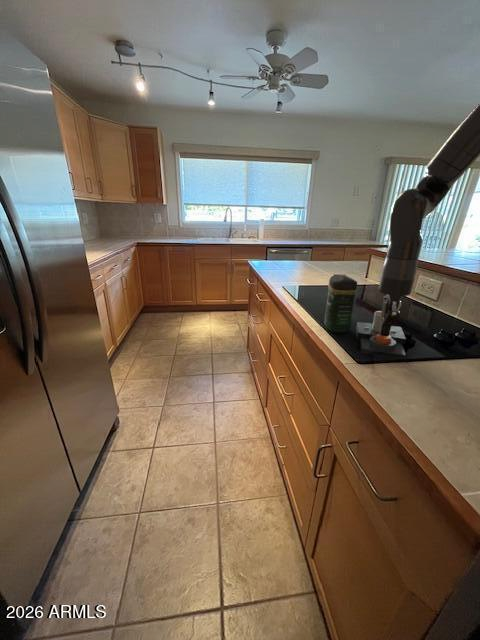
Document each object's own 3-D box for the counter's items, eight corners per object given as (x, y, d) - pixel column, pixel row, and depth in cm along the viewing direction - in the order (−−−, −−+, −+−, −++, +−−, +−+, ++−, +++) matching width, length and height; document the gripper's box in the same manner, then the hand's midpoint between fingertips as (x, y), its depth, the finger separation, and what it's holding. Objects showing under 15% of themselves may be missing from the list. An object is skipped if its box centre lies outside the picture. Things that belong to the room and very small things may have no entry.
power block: (400, 348, 78) (403, 337, 76) (404, 360, 72) (407, 349, 70) (360, 342, 81) (362, 332, 80) (360, 353, 75) (362, 342, 74)
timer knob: (388, 327, 84) (392, 311, 81) (389, 334, 80) (393, 316, 77) (371, 325, 85) (374, 309, 83) (371, 331, 81) (375, 314, 79)
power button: (389, 339, 76) (390, 334, 75) (390, 345, 73) (392, 339, 72) (375, 337, 77) (376, 332, 77) (376, 343, 74) (377, 337, 74)
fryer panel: (399, 335, 85) (401, 326, 84) (403, 348, 78) (406, 338, 76) (356, 329, 90) (357, 321, 89) (356, 341, 82) (358, 332, 81)
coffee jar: (353, 334, 87) (362, 279, 79) (329, 334, 87) (336, 280, 79) (343, 322, 96) (350, 272, 88) (321, 322, 96) (327, 272, 88)
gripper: (420, 282, 60) (403, 348, 67) (409, 270, 72) (395, 327, 79) (384, 280, 63) (371, 343, 70) (379, 268, 74) (368, 324, 81)
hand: (384, 334), depth 74 cm, fingers closed
